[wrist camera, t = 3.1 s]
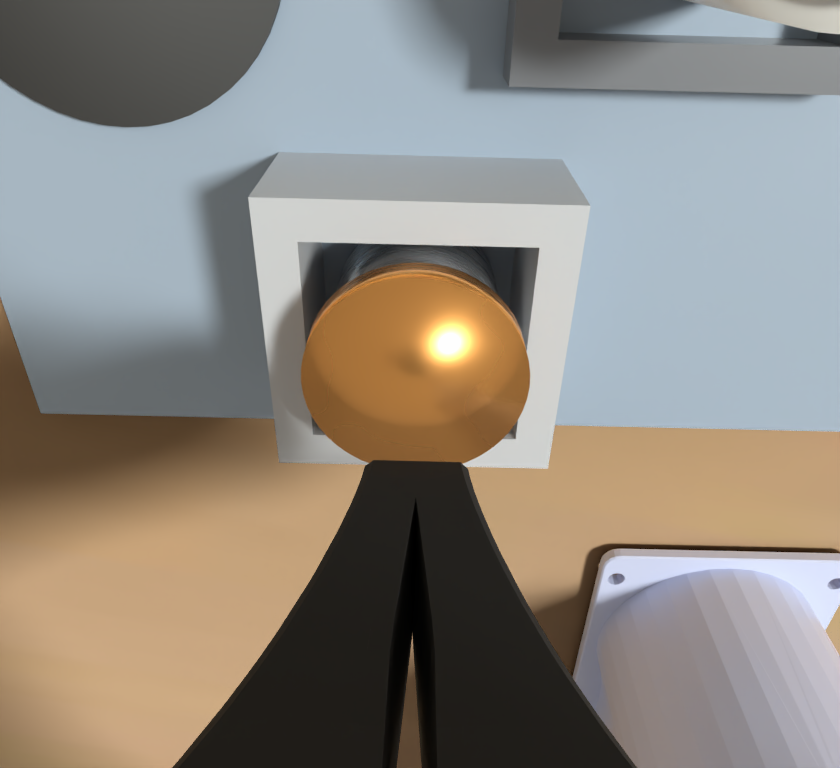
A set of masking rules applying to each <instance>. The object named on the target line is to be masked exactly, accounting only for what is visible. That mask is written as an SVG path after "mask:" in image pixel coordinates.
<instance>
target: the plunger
mask: <svg viewBox="0 0 840 768" xmlns="http://www.w3.org/2000/svg"><path fill="white" fill-rule="evenodd" d="M301 385H302V391H303V396H304V399H305V402H306V405H307V407H308V409H309V411H310V413H311V415H312V417H313V419H314V420H315V422H316V423H317V425H318V426H319V428H320V429H321V430H322V431H323V432H324V433H325V435H326V436H327V437H328V438H329V439H330V440H331V441H333V442H334V443H335V444H336V445H337V446H338V447H340V448H341V449H343V450H344V451H346V452H347V453H349V454H350V455H352V456H354V457H356V458H358V459H360V460H362V461H365V462H367V463H370V462H371V461H373V460H394V461H435V462H461V463H462V464H463V463H466V462H468V461H470V460H473V459H475V458H477V457H479V456H480V455H482V454H484V453H485V452H487V451H488V450H490V449H491V448H493V447H494V446H495V445H496V444H498V443H499V442H500V441H501V440H502V439H503V438H504V437H505V436H506V435H507V434H508V433H509V432H510V430H511V429H512V428H513V426H514V425H515V424H516V422H517V420H518V419H519V417H520V415H521V413H522V411H523V409H524V406H525V403H526V401H527V397H528V392H529V388H530V367H529V360H528V356H527V352H526V347H525V343H524V339H523V336H522V332H521V329H520V327H519V324H518V322H517V320H516V318H515V316H514V314H513V313H512V311H511V310H510V308H509V307H508V305H507V304H506V303H505V302H504V301H503V300H502V298H501V297H500V296H499V295H498V291H497V286H496V281H495V277H494V273H493V270H492V267H491V265H490V263H489V261H488V259H487V257H486V256H485V254H484V253H483V251H482V250H481V249H480V248H479V247H478V246H448V245H407V244H365V243H359V244H358V245H357V246H356V247H355V248H354V250H353V251H352V252H351V254H350V255H349V257H348V259H347V261H346V263H345V265H344V267H343V270H342V273H341V276H340V280H339V284H338V288H337V291H336V292H335V293H334V294H333V295H332V296H331V297H330V298H329V299H328V300H327V302H326V303H325V304H324V306H323V307H322V308H321V310H320V311H319V313H318V314H317V317H316V319H315V321H314V323H313V325H312V328H311V331H310V334H309V337H308V340H307V344H306V347H305V351H304V354H303V358H302V365H301Z"/></svg>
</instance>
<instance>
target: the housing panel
mask: <svg viewBox="0 0 840 768" xmlns="http://www.w3.org/2000/svg"><path fill="white" fill-rule="evenodd" d="M359 243H365V244H407V245H448V246H478V247H479V248H480V249H481V250H482V251H483V253H484V254H485V256H486V257H487V259H488V261H489V263H490V265H491V267H492V270H493V273H494V277H495V281H496V286H497V291H498V295H499V296H500V297H501V298H502V300H503V301H504V302H505V303H506V304H507V305H508V307H509V308H510V310H511V311H512V313H513V314H514V316H515V318H516V320H517V322H518V324H519V327H520V329H521V332H522V336H523V339H524V343H525V347H526V352H527V356H528V360H529V367H530V388H529V392H528V397H527V401H526V403H525V406H524V409H523V411H522V413H521V415H520V417H519V419H518V420H517V422H516V424H515V425H514V426H513V428H512V429H511V430H510V432H509V433H508V434H507V435H506V436H505V437H504V438H503V439H502V440H501V441H500V442H499V443H498V444H496V445H495V446H494V447H493V448H491V449H490V450H488V451H487V452H485V453H484V454H482V455H480V456H479V457H477V458H475V459H473V460H470V461H468V462H466V463H463V465H464V466H465V467H500V468H545V469H548V464H549V458H550V452H551V446H552V439H553V433H554V427H555V425H574V426H618V427H662V428H706V429H750V430H794V431H838V432H840V34H830V33H821V32H814V31H810V30H805V29H801V28H797V27H793V26H789V25H785V24H780V23H776V22H772V21H768V20H764V19H760V18H755V17H751V16H747V15H743V14H739V13H735V12H730V11H726V10H722V9H718V8H714V7H710V6H705V5H701V4H697V3H693V2H689V1H685V0H281V2H280V6H279V10H278V13H277V16H276V19H275V21H274V24H273V27H272V30H271V33H270V35H269V37H268V39H267V40H266V42H265V44H264V46H263V48H262V50H261V52H260V54H259V56H258V57H257V58H256V60H255V61H254V63H253V64H252V65H251V67H250V68H249V70H248V71H247V72H246V74H245V75H244V76H243V77H242V78H241V79H240V80H239V81H238V82H237V83H236V84H235V85H234V86H233V87H232V88H231V89H230V90H229V91H227V92H226V93H225V94H223V95H222V96H221V97H219V98H218V99H217V100H216V101H214V102H213V103H212V104H210V105H209V106H207V107H205V108H203V109H201V110H199V111H197V112H196V113H194V114H192V115H190V116H187V117H184V118H181V119H178V120H175V121H173V122H169V123H164V124H159V125H153V126H144V127H119V126H108V125H101V124H97V123H92V122H88V121H83V120H79V119H77V118H74V117H71V116H68V115H65V114H62V113H59V112H57V111H55V110H53V109H51V108H49V107H46V106H44V105H42V104H40V103H38V102H36V101H34V100H32V99H31V98H29V97H27V96H26V95H24V94H23V93H21V92H19V91H18V90H16V89H15V88H13V87H11V86H10V85H9V84H7V83H6V82H5V81H3V80H2V79H1V78H0V297H1V300H2V303H3V306H4V309H5V312H6V315H7V318H8V320H9V323H10V326H11V329H12V332H13V335H14V338H15V341H16V343H17V346H18V349H19V352H20V355H21V358H22V361H23V364H24V367H25V369H26V372H27V375H28V378H29V381H30V384H31V387H32V390H33V392H34V395H35V398H36V401H37V404H38V407H39V410H40V413H46V414H90V415H134V416H178V417H222V418H266V419H274V422H275V431H276V440H277V448H278V457H279V463H321V464H366V465H367V464H369V463H367V462H365V461H362V460H360V459H358V458H356V457H354V456H352V455H350V454H349V453H347V452H346V451H344V450H343V449H341V448H340V447H338V446H337V445H336V444H335V443H334V442H333V441H331V440H330V439H329V438H328V437H327V436H326V435H325V433H324V432H323V431H322V430H321V429H320V428H319V426H318V425H317V423H316V422H315V420H314V419H313V417H312V415H311V413H310V411H309V409H308V407H307V405H306V402H305V399H304V396H303V391H302V385H301V365H302V358H303V354H304V351H305V347H306V344H307V340H308V337H309V334H310V331H311V328H312V325H313V323H314V321H315V319H316V317H317V314H318V313H319V311H320V310H321V308H322V307H323V306H324V304H325V303H326V302H327V300H328V299H329V298H330V297H331V296H332V295H333V294H334V293H335V292H336V291H337V288H338V284H339V280H340V276H341V273H342V270H343V267H344V265H345V263H346V261H347V259H348V257H349V255H350V254H351V252H352V251H353V250H354V248H355V247H356V246H357V245H358V244H359Z"/></svg>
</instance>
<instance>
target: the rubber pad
mask: <svg viewBox="0 0 840 768" xmlns="http://www.w3.org/2000/svg"><path fill="white" fill-rule="evenodd" d="M280 2H281V0H0V78H1V79H2V80H3V81H5V82H6V83H7V84H9V85H10V86H11V87H13V88H15V89H16V90H18V91H19V92H21V93H23V94H24V95H26V96H27V97H29V98H31V99H32V100H34V101H36V102H38V103H40V104H42V105H44V106H46V107H49V108H51V109H53V110H55V111H57V112H59V113H62V114H65V115H68V116H71V117H74V118H77V119H79V120H83V121H88V122H92V123H97V124H101V125H108V126H119V127H144V126H153V125H159V124H164V123H169V122H173V121H175V120H178V119H181V118H184V117H187V116H190V115H192V114H194V113H196V112H197V111H199V110H201V109H203V108H205V107H207V106H209V105H210V104H212V103H213V102H214V101H216V100H217V99H218V98H219V97H221V96H222V95H223V94H225V93H226V92H227V91H229V90H230V89H231V88H232V87H233V86H234V85H235V84H236V83H237V82H238V81H239V80H240V79H241V78H242V77H243V76H244V75H245V74H246V72H247V71H248V70H249V68H250V67H251V65H252V64H253V63H254V61H255V60H256V58H257V57H258V56H259V54H260V52H261V50H262V48H263V46H264V44H265V42H266V40H267V39H268V37H269V35H270V33H271V30H272V27H273V24H274V21H275V19H276V16H277V13H278V10H279V6H280Z"/></svg>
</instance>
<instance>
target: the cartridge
mask: <svg viewBox="0 0 840 768" xmlns="http://www.w3.org/2000/svg"><path fill="white" fill-rule="evenodd" d="M685 1H689V2H693V3H697V4H701V5H705V6H710V7H714V8H718V9H722V10H726V11H730V12H735V13H739V14H743V15H747V16H751V17H755V18H760V19H764V20H768V21H772V22H776V23H780V24H785V25H789V26H793V27H797V28H801V29H805V30H810V31H814V32H821V33H830V34H840V0H685Z"/></svg>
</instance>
